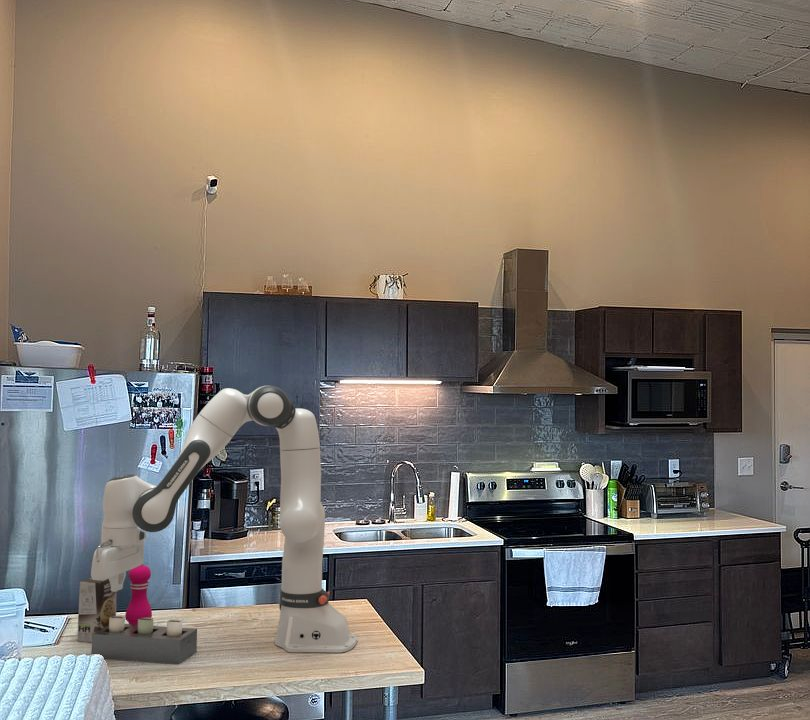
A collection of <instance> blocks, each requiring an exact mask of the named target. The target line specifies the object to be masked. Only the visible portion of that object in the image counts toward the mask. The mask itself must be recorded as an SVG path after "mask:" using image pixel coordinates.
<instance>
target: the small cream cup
mask: <svg viewBox="0 0 810 720" xmlns="http://www.w3.org/2000/svg"><path fill="white" fill-rule="evenodd" d="M125 621H126V619H125V616H124V615H116V616H112V617H110V618H109V632H117V633H121V632H123V631H124V629H125V624H126V622H125Z"/></svg>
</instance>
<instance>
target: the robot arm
mask: <svg viewBox="0 0 810 720" xmlns="http://www.w3.org/2000/svg"><path fill="white" fill-rule="evenodd" d="M247 422H252V423H253V422H254V423H255V424H258V425H261V426H262V427H263V426H264V427H271V428H275V429H276V431H277V434H278V437H279V455H280V492H279V493H280V494H279V495H280V496H279V500H280V501H279V526H280V531H281V533H282V535H283V536H284V543H283V544H284V546H283V553H282V559H281V589H280V590H279V598H278V602H279V603H278V605H279V606H278V607H279V619H278V626H277V631H276V635H275V638H274V641H273V643H274V644H275V645H276V646H277V647H280V648H282V649H284V650H285V651H286V652H288V653H345V652H348V651H350V650H352V649H353V648H354V647H356V645H357V642H358V637H357V635H356V634H355V633H350V627H349V621H348V619H347V617H346V615H345V616H344V615H343V613H341V612H339V610H337V609H336V608H335V607H333V606H332V604H330V603H329V601H330V599H329V598H330V597H329V596H330V592H331V591H326V590H324V588H323V558H324V557H323V556H324V555H323V554H324V545H325V543H324V542H325V527H326V526H325V525H326V511H325V507H324V505H323V503H322V502H321V501H322V500H321V494H322V492H321V491H322V487H321V486H322V467H321V466H322V464H321V444H320V443H321V442H320V441H321V440H320V435H319V428H318V423H317V419H316V416H315V414H314V413H313V412H312V411H310V410H309V409H306V408H302V407H301V408H299V407H297V408H295V406H294V404H293V402H292V401H291V399H290V398H289V396H288V394H287V393H286V392H285V391H284V390H282V389H281V388H280V387H278V386H275V385H263V386H259V387H257V388H256V389H255V390H253V391H251V392H249V393H246V394H244V393H243V392H242V391H239V390H237V389H235V388H229V387H227V388H222V389H221V390H220V391H218V392H217V394H215V395H214V396H213V397H212V398H211V399H210V400H209V401H208V402H207V403H206V405H205V406H204V407H203V408H202V409H201V410H200V412H199V413H198V414H197V415H196V417H195V419H194V420H193V422H192V424H190V427H189V429H188V431H187V432H186V435H185V437H184V441H183V445H182V448H181V450H180V452H179V455H178V457H177V458H176V460H175V461H174V463H173V464H172V466H171V467H170V469H169V470H168V471H167V473H166V474H165V475H164V476H163V478H162V479H161V481H160V482H159V483H158V484H157V485H155V484H151V483H149V482H147V481H145V480H144V479H141V478H140V477H139V476H138V475H137V474H134V473H133V474H132V473H131V474H130V473H129V474H128V473H127V474H123V475H117V476H114V477H112V478H110V479H109V480H108V481H107V482H106V485H105V487H104V491H103V492H104V493H103V500H102V501H103V502H102V512H103V520H102V524H101V535H100V536H101V538H100V543H99V545H98V547H97V548H96V549H95V551H94V553H93V556H92V562H91V570H90V578H92V579H93V580H100V581H104V580H106V579H109V581H110V584H111V591H112V592H119V591H121V590H122V589H124V582H125V579H126V578H127V577H126V576H127V572H128V571H130V570H131V569H133V568H136V567H138V566H140V565H141V564H142V562H143V563H144V555H145V541H144V540H145V539H146V537H147V533H158V532H161V531H163V530H164V529H166V528H167V527H169V525H170V524H171V523H172V521H173V520H174V516H175V513H176V507H177V504H178V503H179V502H178V501H179V500H180V498H181V497H182V495H183V494H184V493H185V491H186V489H187V488H189V486H190V484H191V483H192V481H193V480H194V479H195V477H197V475H198V473H199V472H200V471H201V470H202V469H203V468H204V467H205V466H206V464H208V463H209V462H211V461H212V460H213V459H214V458H215V457H216V456H217V455H218V454H220V452H221V451H223V449H224V448H225V447H226V446H227V445H228V444H229V443H230V441H231V440H232V439H233V437H234V436H235V434H236V433H237V432H238V430H239V429H240V428H241V427H242V426H243V425H244V424H245V423H247ZM138 528H139V529H138Z"/></svg>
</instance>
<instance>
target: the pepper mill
mask: <svg viewBox="0 0 810 720" xmlns="http://www.w3.org/2000/svg"><path fill="white" fill-rule="evenodd" d="M151 576H152V571H151V569H150V567H149V566H147V565H144V561H143V562H142V564H141V565H140V566H138V567H136V568H133V569H131V570H129V572H128V579H129V580H130V582H131V583H130V587H129V588H130V589H131V597H130V602H129V604H128V605H127V608H126V611H125V616H124V617H125V621H126V622H128V623H127V624H135V625H138V619H140V618H153V617H152V616H153V613H152V612H153V611H152V607H151V605H150V602H149V600H148V588H149V585H150V582H149V580H150V578H151Z"/></svg>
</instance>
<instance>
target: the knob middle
mask: <svg viewBox="0 0 810 720" xmlns="http://www.w3.org/2000/svg"><path fill="white" fill-rule="evenodd" d="M153 626H154V618H153V617H151V618H140V619H138V634H146V635H150V634H152V633H153Z"/></svg>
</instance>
